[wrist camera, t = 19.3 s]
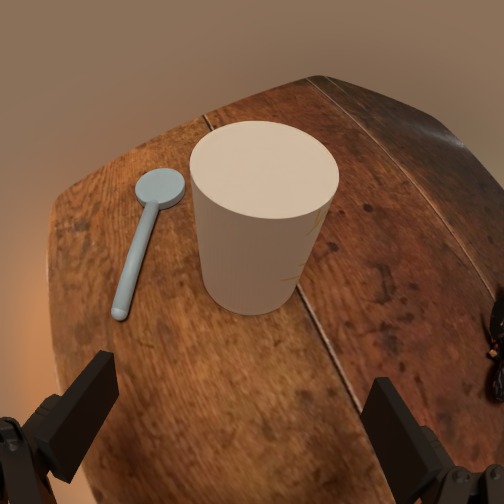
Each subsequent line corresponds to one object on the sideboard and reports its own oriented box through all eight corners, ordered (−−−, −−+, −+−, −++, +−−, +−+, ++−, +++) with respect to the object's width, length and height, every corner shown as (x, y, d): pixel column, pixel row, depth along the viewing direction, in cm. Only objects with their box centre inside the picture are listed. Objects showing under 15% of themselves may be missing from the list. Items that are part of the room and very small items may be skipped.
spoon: (149, 328, 22) (145, 322, 21) (93, 317, 22) (86, 310, 21) (190, 176, 32) (189, 166, 30) (145, 173, 32) (143, 164, 30)
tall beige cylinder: (299, 317, 24) (350, 225, 14) (197, 311, 23) (176, 213, 13) (294, 235, 28) (327, 128, 18) (207, 229, 28) (201, 117, 18)
